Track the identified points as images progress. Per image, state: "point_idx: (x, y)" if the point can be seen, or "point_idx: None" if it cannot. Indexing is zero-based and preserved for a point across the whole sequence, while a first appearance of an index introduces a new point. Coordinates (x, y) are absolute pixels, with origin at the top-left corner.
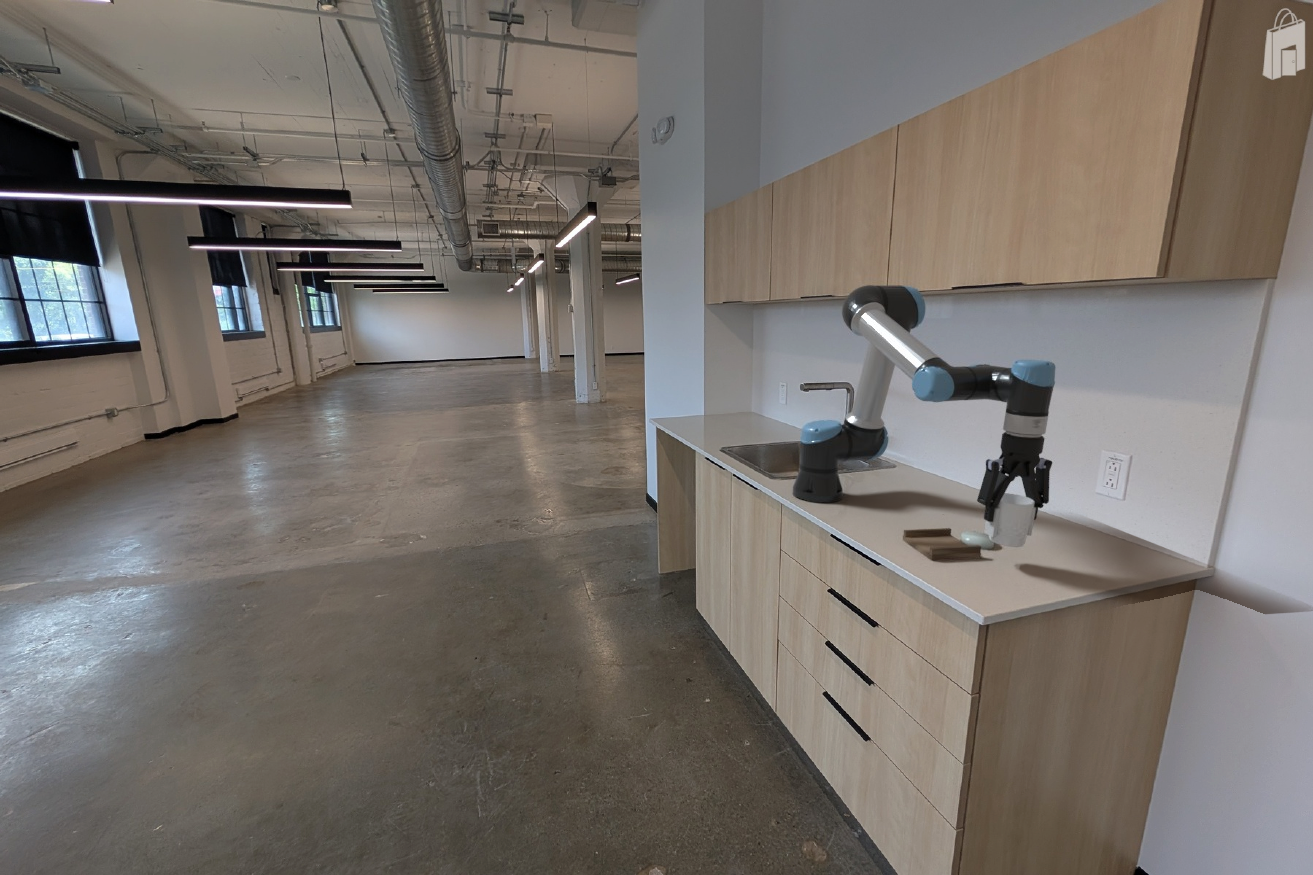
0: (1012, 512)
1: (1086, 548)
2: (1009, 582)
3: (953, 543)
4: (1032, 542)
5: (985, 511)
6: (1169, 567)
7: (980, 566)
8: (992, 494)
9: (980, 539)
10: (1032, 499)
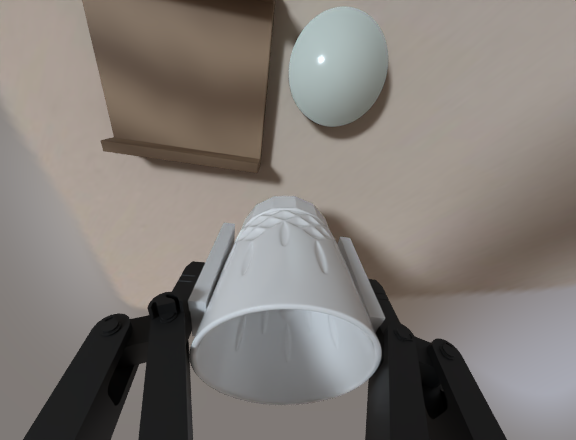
0: (237, 353)
1: (548, 186)
2: None
3: (228, 88)
4: (487, 118)
5: (174, 290)
6: (544, 277)
7: (226, 201)
8: (115, 422)
9: (325, 98)
10: (372, 376)
